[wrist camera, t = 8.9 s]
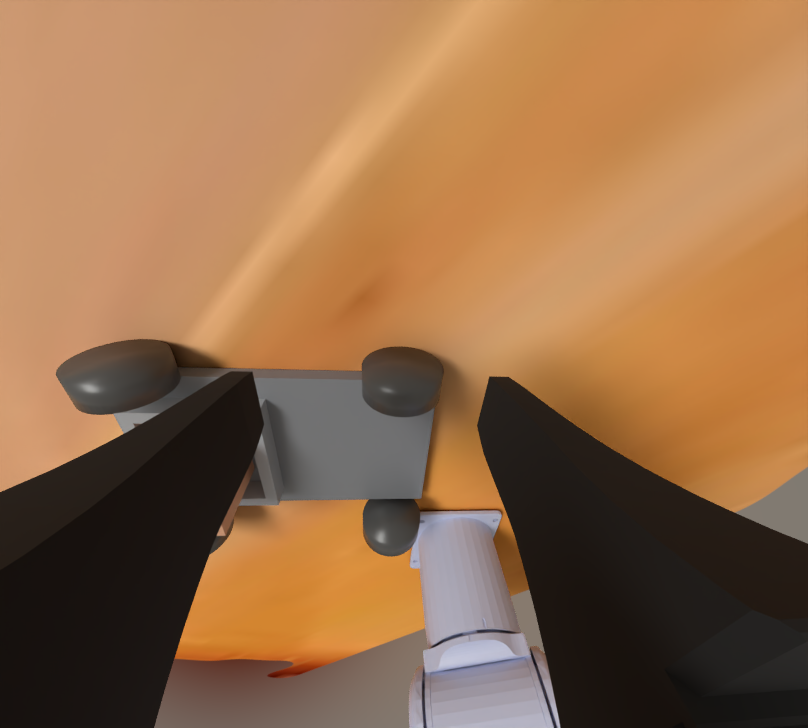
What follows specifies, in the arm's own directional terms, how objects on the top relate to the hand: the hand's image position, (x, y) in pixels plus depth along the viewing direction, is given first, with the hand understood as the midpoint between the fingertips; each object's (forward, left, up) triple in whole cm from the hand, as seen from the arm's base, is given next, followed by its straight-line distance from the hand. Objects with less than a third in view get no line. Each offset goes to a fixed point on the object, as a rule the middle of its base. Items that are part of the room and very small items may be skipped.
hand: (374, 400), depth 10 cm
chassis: (-11, +6, -9) cm, 16 cm away
